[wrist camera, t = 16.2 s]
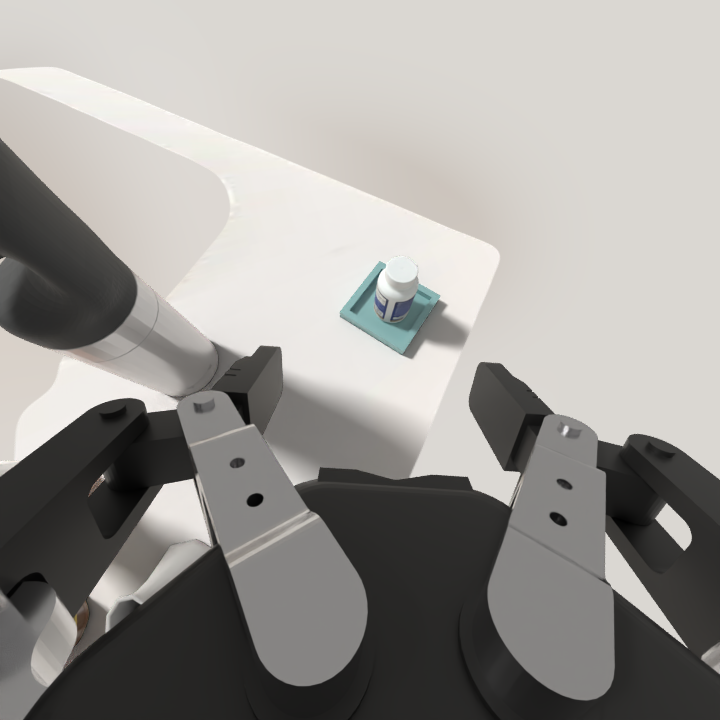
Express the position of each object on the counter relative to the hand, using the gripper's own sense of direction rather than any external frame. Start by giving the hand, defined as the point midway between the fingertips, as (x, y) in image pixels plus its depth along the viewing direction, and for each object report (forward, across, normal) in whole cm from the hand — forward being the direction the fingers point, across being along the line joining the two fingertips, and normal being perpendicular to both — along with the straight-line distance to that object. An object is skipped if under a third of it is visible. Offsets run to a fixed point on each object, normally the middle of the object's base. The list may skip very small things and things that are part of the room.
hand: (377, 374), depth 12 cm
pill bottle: (+34, -4, +6) cm, 35 cm away
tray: (+34, -4, +6) cm, 35 cm away
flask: (+9, +18, +32) cm, 38 cm away
